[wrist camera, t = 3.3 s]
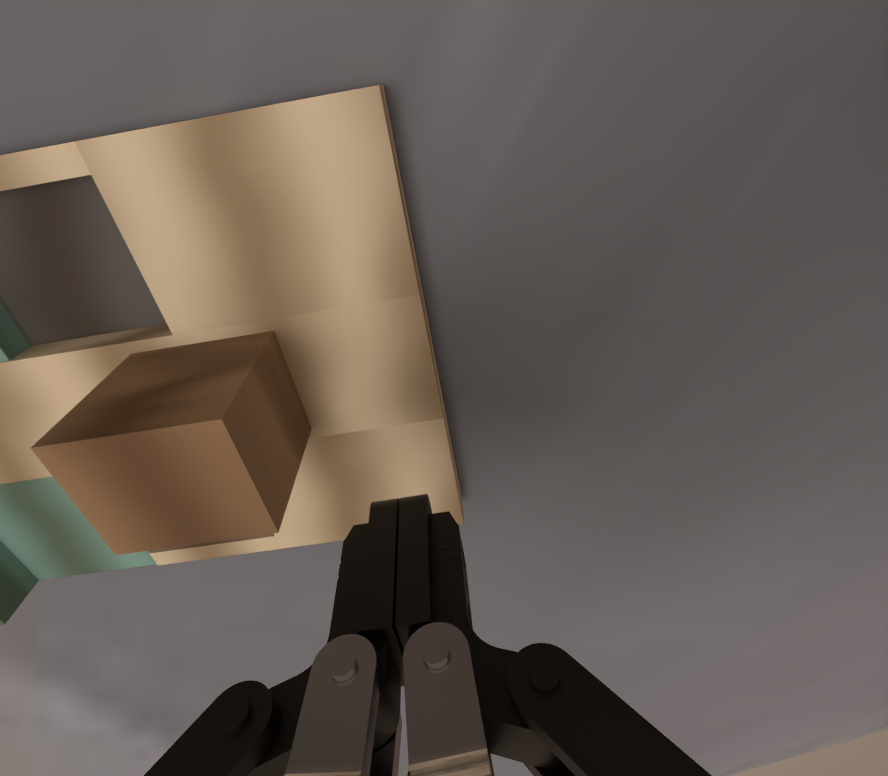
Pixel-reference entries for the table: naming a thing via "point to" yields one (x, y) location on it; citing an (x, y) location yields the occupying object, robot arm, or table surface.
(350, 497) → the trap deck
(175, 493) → the walnut block
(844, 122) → the table surface
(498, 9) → the table surface
